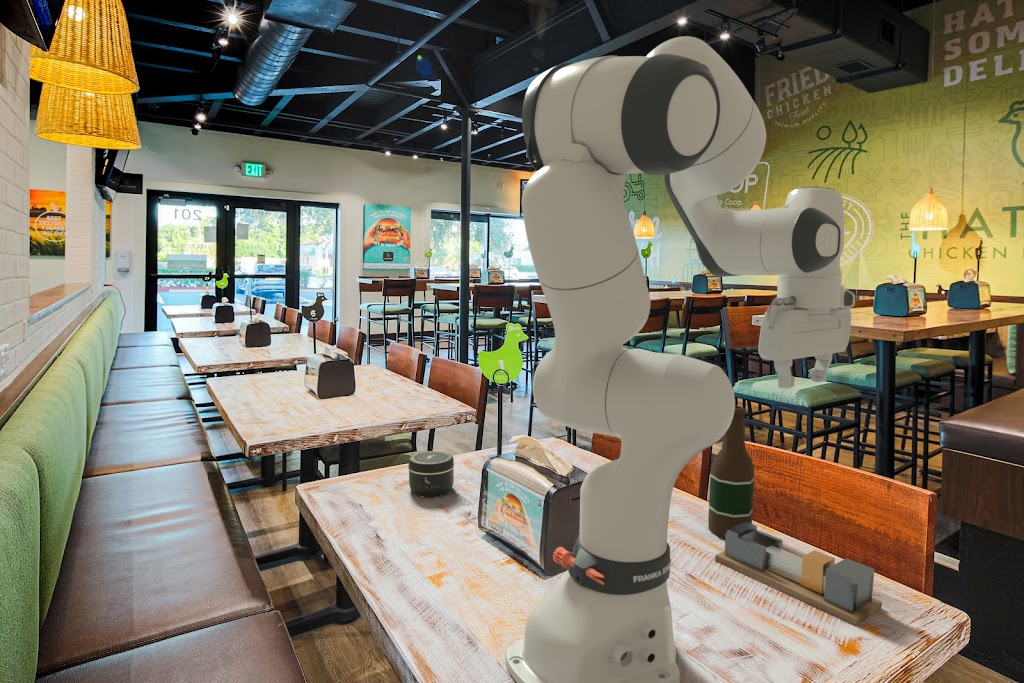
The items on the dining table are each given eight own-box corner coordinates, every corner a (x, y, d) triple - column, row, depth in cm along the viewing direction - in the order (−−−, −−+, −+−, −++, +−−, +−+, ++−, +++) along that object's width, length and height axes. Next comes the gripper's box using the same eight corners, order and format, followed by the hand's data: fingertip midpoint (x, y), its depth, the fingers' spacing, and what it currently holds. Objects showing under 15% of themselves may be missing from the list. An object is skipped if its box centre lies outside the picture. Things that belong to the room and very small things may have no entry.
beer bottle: (755, 543, 109) (762, 412, 106) (710, 539, 111) (716, 410, 108) (747, 525, 117) (754, 403, 114) (705, 521, 118) (711, 401, 115)
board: (855, 625, 84) (856, 618, 84) (715, 560, 103) (715, 554, 102) (881, 608, 88) (882, 601, 88) (742, 548, 107) (742, 543, 107)
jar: (405, 498, 129) (404, 464, 129) (412, 482, 139) (412, 450, 138) (451, 498, 130) (451, 464, 129) (455, 482, 139) (455, 450, 139)
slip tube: (849, 606, 87) (851, 575, 86) (760, 566, 98) (761, 539, 97) (860, 598, 88) (862, 569, 88) (772, 561, 100) (773, 534, 99)
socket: (852, 613, 85) (854, 580, 84) (823, 600, 88) (826, 568, 88) (871, 600, 88) (874, 568, 88) (843, 588, 92) (846, 558, 91)
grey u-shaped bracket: (762, 572, 97) (763, 544, 96) (724, 555, 102) (725, 528, 102) (781, 563, 100) (782, 535, 99) (743, 547, 105) (744, 521, 105)
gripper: (790, 298, 85) (784, 395, 86) (860, 295, 97) (854, 381, 98) (749, 297, 90) (745, 388, 92) (821, 294, 102) (816, 375, 103)
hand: (802, 384), depth 95 cm, fingers open, 8 cm apart
